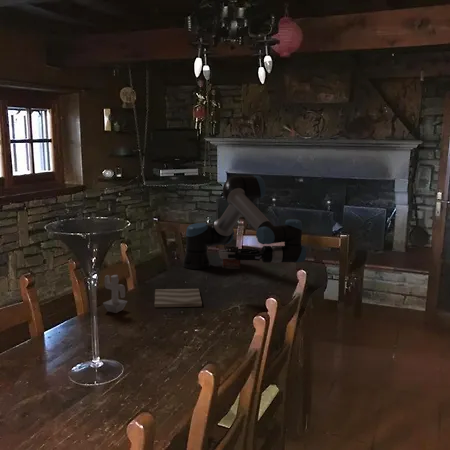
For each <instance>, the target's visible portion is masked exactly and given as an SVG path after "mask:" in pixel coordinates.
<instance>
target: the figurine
mask: <svg viewBox="0 0 450 450" xmlns="http://www.w3.org/2000/svg"><path fill="white" fill-rule="evenodd" d="M119 282H120V280H119V275H118V274H113V275H109V274H107V275H105V276H104V288H105V289H107V290H110V291H111V299H109V300H106V301H104V302H102V305H103V306H104V308H105V310H106V311H107V312H109V313H114V314H118V313H119V312H121V311H124V308H125V307H126V305H127V303H128V300H124V298H125V297H126V288H125V287H126V286H125V285H124V284H120V283H119ZM119 296H120V297H119ZM120 298H121V299H120Z"/></svg>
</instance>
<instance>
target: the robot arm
mask: <svg viewBox="0 0 450 450" xmlns="http://www.w3.org/2000/svg"><path fill="white" fill-rule="evenodd" d="M266 192H267V191H266V183H265V180H264V179H263V178H262V177H261V176H260V175H239V176H238V175H233V176H231V177H229V178H228V179H227V180H226V181H225V182H224V183H223V186H222V195H223V197H224V199H225V201H226V202H227V203H228V206H227V207H226V209H225V210H224V212H223V213H222V215H221V216H220V218H217V219H216V220H215V221H214V222H213V224H207V223H205V222H198V223H192V224H188V226H186V230H185V231H186V233H185V236H186V237H185V239H186V240H185V247H186V249H185V254H184V257H183V261H182V266H183V268H186V269H189V270H204V269H205V270H206V269H208V268H210V267H211V260H210V258H209V254H208V247H215V246H226V245H229V244H230V243H232V241H233V239H234V235H235V230H234V226H235V225H236V224H237V222H238V220H240V218H241V217H243V218H244V219H245V220H246V222H248V224H249V225H250V227H252V229H254V231H255V232H256V233H255V237H256V239H257V242H258V243H259V244H261V245H263V246H262V247H261V249H258V248H255V247H252V248H238V251H241V253H237V252H223V251H224V250H225V249H219V251H218V256H219V259H221V260H223V259H237V260H240V261H257V262H259V261H262V262H263V264H264V263H265V264H266V263H269V264H270V263H276V264H279V263H295V264H296V263H304V262H305V261H306V259H307V249H306V247H305V245H302V236H303V222H302V221H301V220H300V219H296V218H295V219H293V218H290V219H286V220H285V223H284V224H283V225H281V224H280V225H274V224H273V223H272V222H271V221H270V220H269V219H268V218H267V217H266V216H265V214H264V213H263V211H261V210H260V209H259V208H258V207H257V206H256V205H255V204H254V203H255V202H256V201H257V200H258V199H259V200H260V199H263V198H264V197H265V196H266ZM279 243H284V245H273V244H279ZM271 245H272V246H271ZM235 250H236V249H235Z"/></svg>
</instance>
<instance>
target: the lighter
mask: <svg viewBox="0 0 450 450" xmlns="http://www.w3.org/2000/svg"><path fill="white" fill-rule="evenodd" d="M235 249H236V250H235ZM238 249H239V246H235V245H224V249H223V250H224V251H223V252H237V253H241V251H238ZM222 269H233V270H234V269H237V270H239V269H241V260H237V259H222Z"/></svg>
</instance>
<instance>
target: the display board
mask: <svg viewBox="0 0 450 450" xmlns="http://www.w3.org/2000/svg"><path fill="white" fill-rule="evenodd" d="M185 307H186V308H187V307H189V308H190V307H191V308H193V307H198V308H199V307H200V308H202V307H203V301H202V297H201V293H200V289H199V288H165V289H164V288H160V289H159V288H158V289H157V288H156V289H154V308H185Z"/></svg>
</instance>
